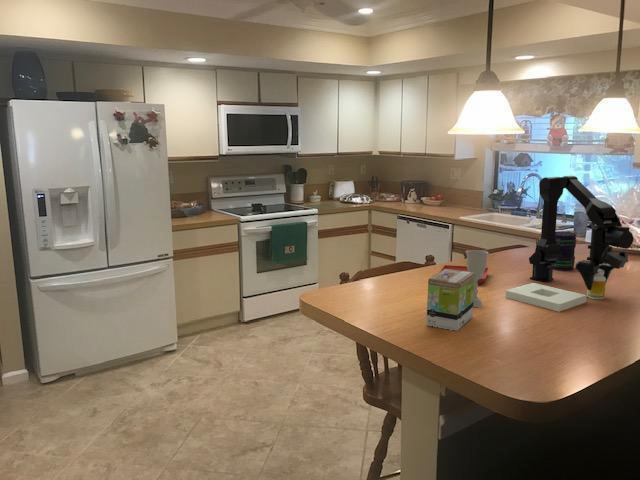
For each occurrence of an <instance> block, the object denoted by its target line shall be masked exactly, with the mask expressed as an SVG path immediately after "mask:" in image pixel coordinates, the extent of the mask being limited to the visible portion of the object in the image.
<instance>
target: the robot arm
mask: <svg viewBox="0 0 640 480" xmlns="http://www.w3.org/2000/svg"><path fill="white" fill-rule="evenodd" d="M538 187H539V191H538V192H539V195H540V197H541V200H543V201H542V202H543V204H542V216H541V232H540V234H541V235H540V239H539V241H538V242H537V244H536V245H535V250H534V252H533V253H532V254H531V255H530V256H529V258H528V262H529V264H531V265H532V273H531V274H532V276H530V277H529V279H530V280H534V281H539V282H548V281H552V280H554V277H553V271H554V270H553V269H552V264H556V261H557V258H559V254H561V253H560V248H561V244H558V243H557V241H556V239H555V233H556V231H557V216H558V205H559V203H558V202H559V201H560V198H561V197H562V195H563V192H564V189H566V190H567V191H568V193H570V195H571V196H573V198H575V200H577V202H578V203H579V204H581V206H582V207H584V209H585V215H586V216H587V218H588V219H589V220H590V223H589V224H587V225H586V229H591V234H590V244H587V249H590V250H589V256H587V257H586V260H585V259H583V260H579V261H577V262H575V267H574V270H576V271H577V272H579V273H580V276H581V278H582V280H583V282H584V284H585V287H586V289H588V290H591V289H592V285H593V280H594V276H595V275H596V274H597V273H599V272H597V271H598V269H601V270H604V275H603V276H604V277H605V278H606V283H607V281H608V279H609V277H610V274H611V273H612V271H613V270H614V269H616V270H618V269H619V270H620V269H621V268H624V266H625V265H626V263H628V262H629V258H628V257H629V256H628V252H626V251H621V252H615V251H614V248H613V247H616V248H622V249H628V248H630V247H631V246H632V244H633V243H634V239H635V238H634V235H633V233H632V232H631V231H630V227H628V226H623V224H622V223H621V220H620V219H619V217H618V215H617V213H616V209H615V207H613V206H612V205H611V204H609V203H608V202H606V201H603V200H600V199H598V198H597V197H596V196H595V195H594V194H593V193H592V192H591V191H590V190H589V189H588V188H587V187H586V186H585V185H584V184H582V182H580V180H579V178H578V177H577V176H575V175H564V176H561V177H560V176H550V177H549V176H548V177H543V178H541V179H540V180H539V184H538Z"/></svg>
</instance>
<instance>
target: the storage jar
mask: <svg viewBox="0 0 640 480" xmlns="http://www.w3.org/2000/svg"><path fill="white" fill-rule="evenodd" d="M555 239H556V241H557V243H558V244H561V248H560V253H561V254H559V258H557V261H556V264H552V269H553V271H559V272H572V271H574V270H575V267H574V266H575V264H576V262H575V261H576V260H575V259H576V256H575V252H576V251H575V250H576V249H575V248H576V246H577V233H576V232H571V231H560V230H559V231H557V230H556V233H555Z"/></svg>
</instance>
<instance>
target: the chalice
mask: <svg viewBox="0 0 640 480" xmlns="http://www.w3.org/2000/svg"><path fill="white" fill-rule="evenodd" d="M465 254H466V266H467V269H468V272H473V273H475V283H474V301H473V308H481V306H482V307H483V306H484V305H483V302H482V299H481V298H480V297H478V292H479V290H478V286H479V284H477V281H478V280H479V279H481V277H482V275H483V273H484V271H485V269H486V267H487V259H488V258H487V257H488V255H489V251H487V250H481V249H470V250H465Z"/></svg>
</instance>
